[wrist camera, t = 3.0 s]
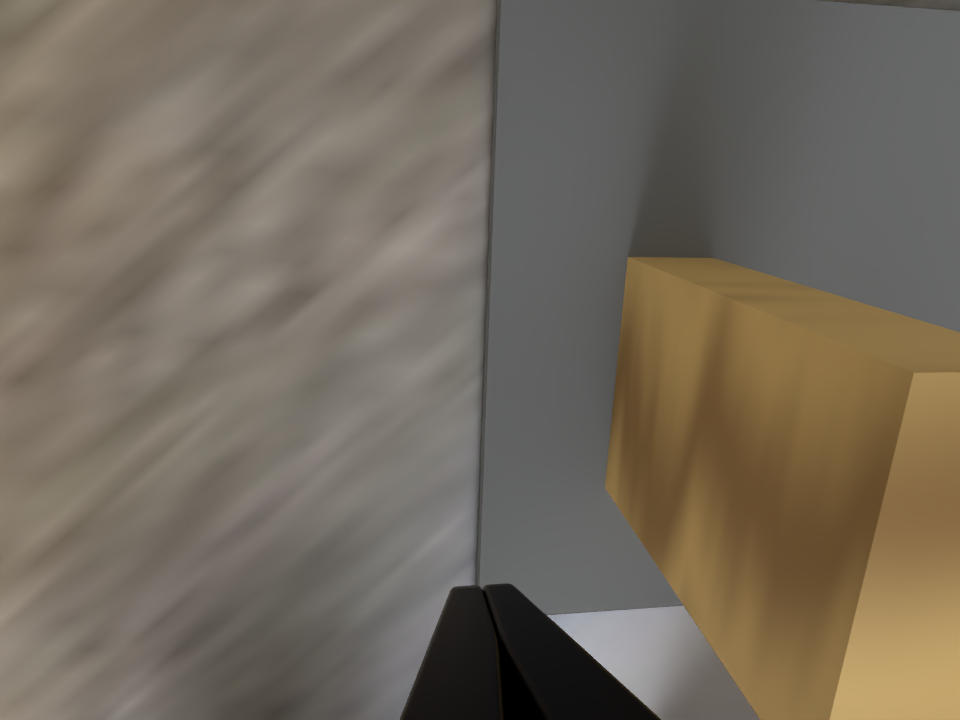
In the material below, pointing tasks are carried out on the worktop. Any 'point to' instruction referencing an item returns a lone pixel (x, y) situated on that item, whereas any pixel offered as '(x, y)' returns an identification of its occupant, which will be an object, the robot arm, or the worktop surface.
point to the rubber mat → (686, 224)
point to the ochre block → (796, 485)
